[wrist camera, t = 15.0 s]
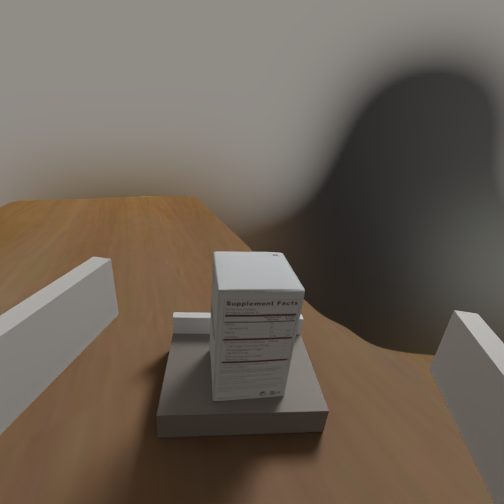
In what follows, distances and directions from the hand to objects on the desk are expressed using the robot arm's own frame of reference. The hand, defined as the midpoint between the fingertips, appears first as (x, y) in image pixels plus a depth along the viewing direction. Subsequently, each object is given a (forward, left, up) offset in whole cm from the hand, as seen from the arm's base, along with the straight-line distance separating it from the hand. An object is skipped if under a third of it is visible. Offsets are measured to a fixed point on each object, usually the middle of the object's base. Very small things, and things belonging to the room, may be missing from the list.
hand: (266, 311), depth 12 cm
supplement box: (-2, -14, -18) cm, 23 cm away
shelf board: (-2, -15, -21) cm, 26 cm away
